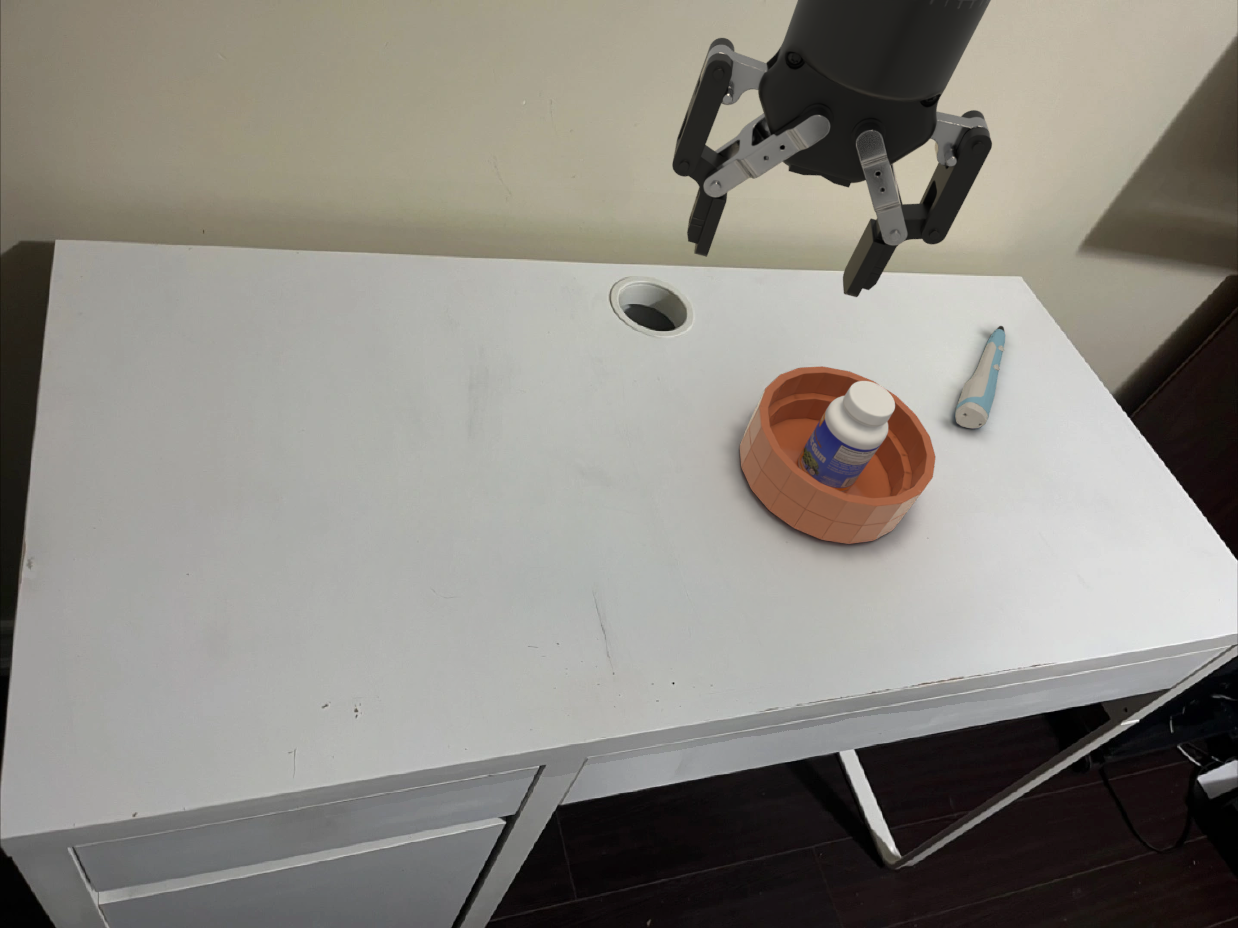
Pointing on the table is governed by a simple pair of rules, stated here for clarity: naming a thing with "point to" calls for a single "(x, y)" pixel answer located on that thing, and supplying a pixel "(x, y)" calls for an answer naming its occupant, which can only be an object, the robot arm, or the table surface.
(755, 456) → the bowl
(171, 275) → the table surface
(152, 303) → the table surface
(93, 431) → the table surface
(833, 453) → the pill bottle
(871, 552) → the table surface
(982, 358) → the white and blue rod
